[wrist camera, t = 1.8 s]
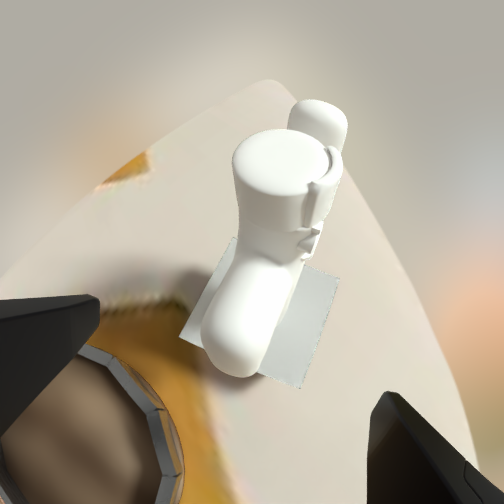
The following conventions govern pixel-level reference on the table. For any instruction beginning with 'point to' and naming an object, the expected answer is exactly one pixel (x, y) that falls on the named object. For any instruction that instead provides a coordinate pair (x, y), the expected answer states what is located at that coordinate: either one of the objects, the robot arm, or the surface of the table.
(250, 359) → the figurine
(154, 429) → the round grey tray
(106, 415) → the brown round plate
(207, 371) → the table surface
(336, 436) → the table surface
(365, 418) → the table surface
